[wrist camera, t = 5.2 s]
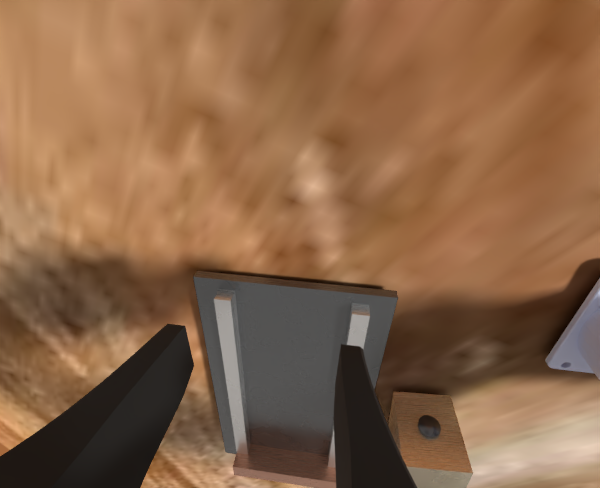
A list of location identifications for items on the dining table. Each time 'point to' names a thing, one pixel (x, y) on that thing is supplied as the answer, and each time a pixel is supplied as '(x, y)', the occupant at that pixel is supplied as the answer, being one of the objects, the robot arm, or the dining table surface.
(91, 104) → the dining table surface
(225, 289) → the rail guide
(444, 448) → the block
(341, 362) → the robot arm
